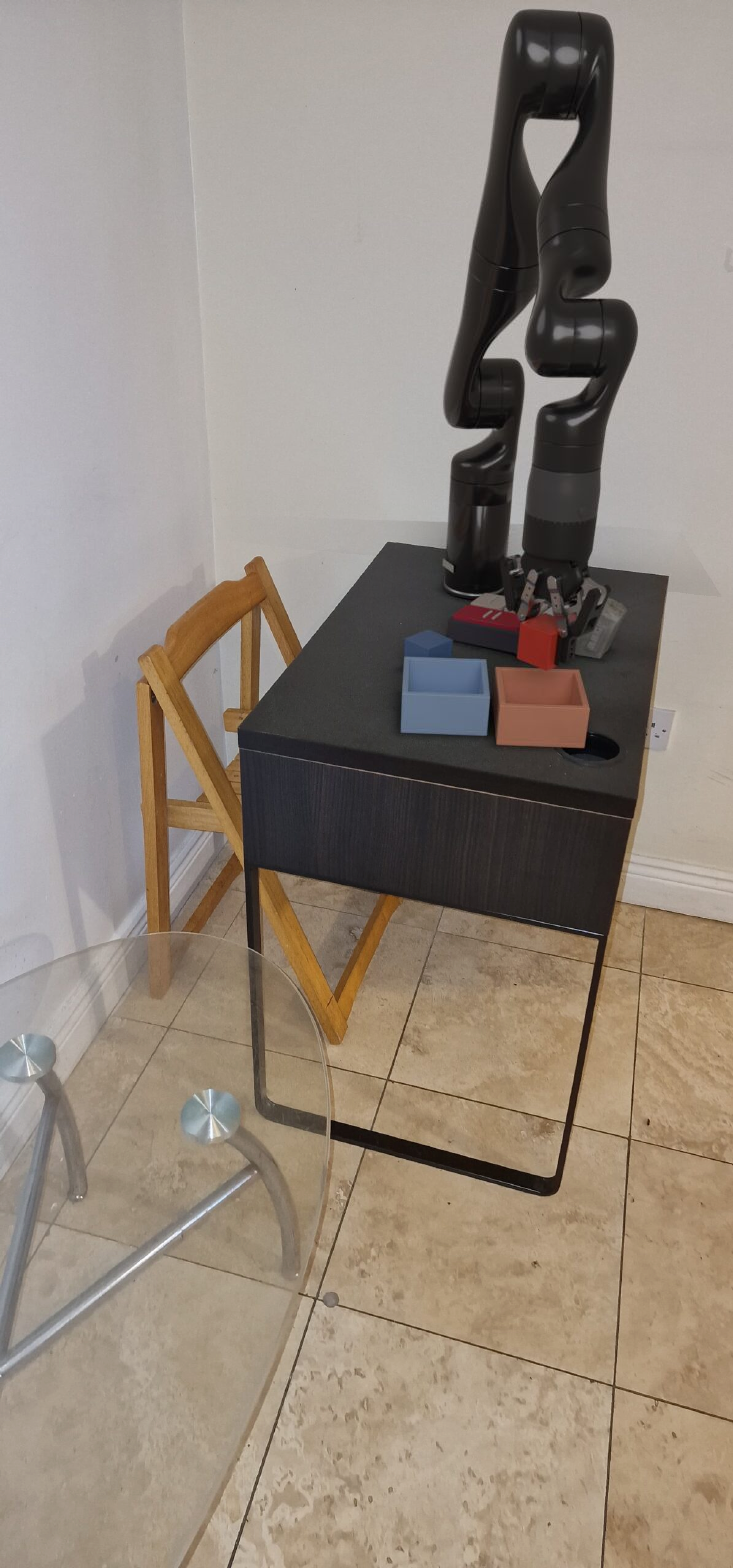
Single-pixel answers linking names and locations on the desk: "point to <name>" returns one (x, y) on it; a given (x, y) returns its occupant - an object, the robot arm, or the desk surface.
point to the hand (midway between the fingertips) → (544, 656)
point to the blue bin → (445, 696)
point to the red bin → (540, 707)
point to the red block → (538, 641)
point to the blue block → (428, 645)
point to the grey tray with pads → (488, 623)
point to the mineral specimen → (602, 631)
